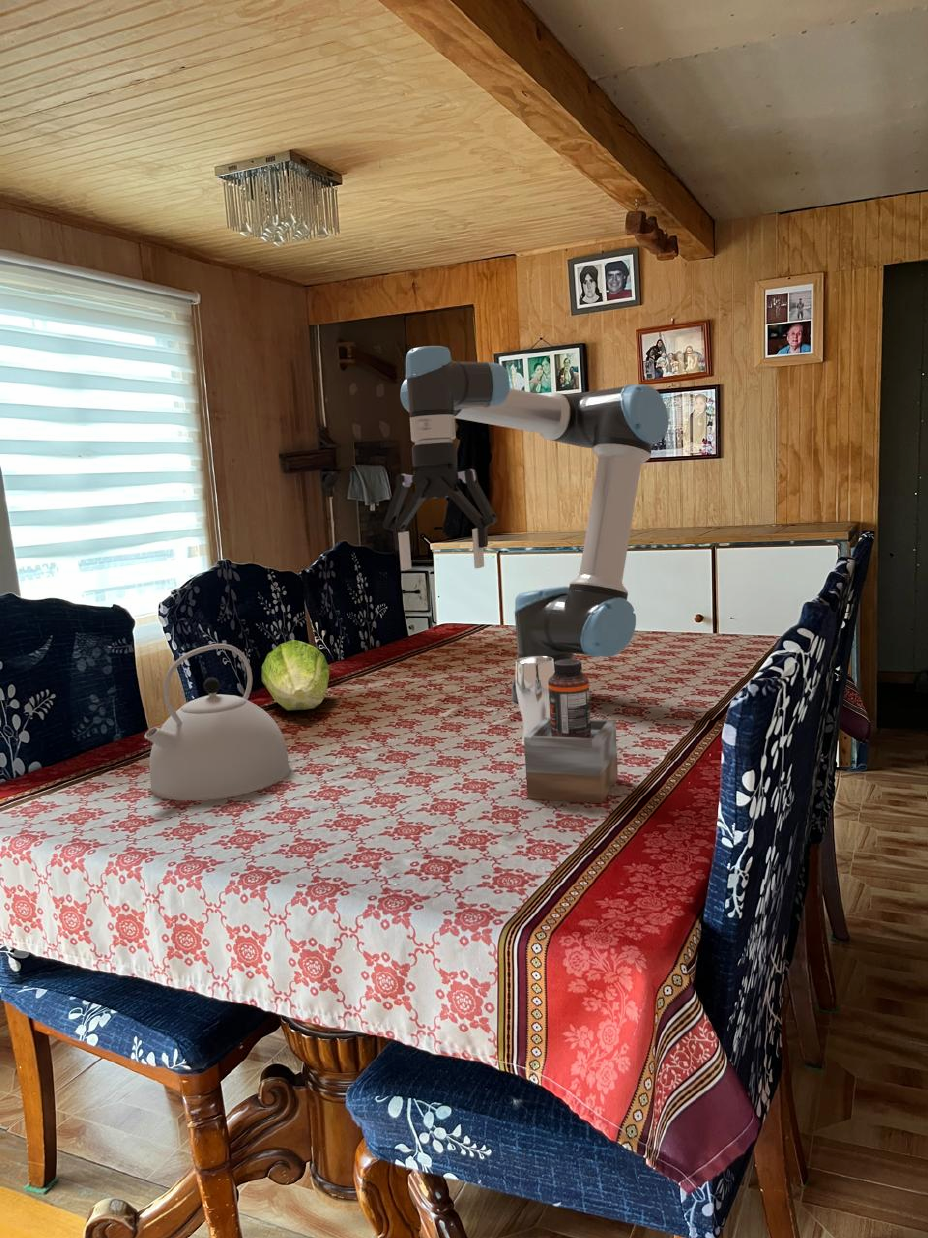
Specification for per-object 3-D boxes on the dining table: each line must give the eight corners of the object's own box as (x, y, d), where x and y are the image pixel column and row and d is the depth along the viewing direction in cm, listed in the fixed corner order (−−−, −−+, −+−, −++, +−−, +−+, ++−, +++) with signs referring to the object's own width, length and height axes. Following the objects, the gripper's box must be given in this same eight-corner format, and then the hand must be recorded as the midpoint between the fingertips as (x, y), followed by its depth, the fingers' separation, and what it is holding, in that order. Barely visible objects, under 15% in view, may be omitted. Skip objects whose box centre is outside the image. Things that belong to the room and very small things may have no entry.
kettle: (201, 814, 139) (185, 666, 136) (109, 793, 152) (92, 657, 148) (317, 766, 159) (306, 636, 156) (227, 752, 172) (215, 631, 169)
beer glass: (562, 738, 166) (558, 655, 164) (553, 749, 159) (549, 663, 157) (525, 737, 168) (520, 655, 166) (514, 748, 162) (509, 663, 160)
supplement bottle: (547, 732, 141) (543, 659, 139) (586, 729, 141) (583, 656, 139) (554, 743, 135) (550, 666, 133) (595, 740, 135) (592, 663, 134)
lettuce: (341, 723, 191) (268, 738, 189) (332, 690, 215) (267, 703, 212) (329, 655, 188) (254, 670, 185) (321, 629, 211) (255, 642, 209)
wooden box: (548, 774, 146) (545, 717, 145) (617, 778, 142) (615, 720, 141) (527, 798, 136) (523, 737, 135) (601, 803, 132) (598, 740, 131)
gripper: (357, 447, 158) (367, 572, 161) (496, 436, 149) (504, 569, 152) (377, 448, 165) (386, 568, 168) (511, 437, 155) (518, 564, 159)
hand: (442, 568), depth 160 cm, fingers open, 13 cm apart
